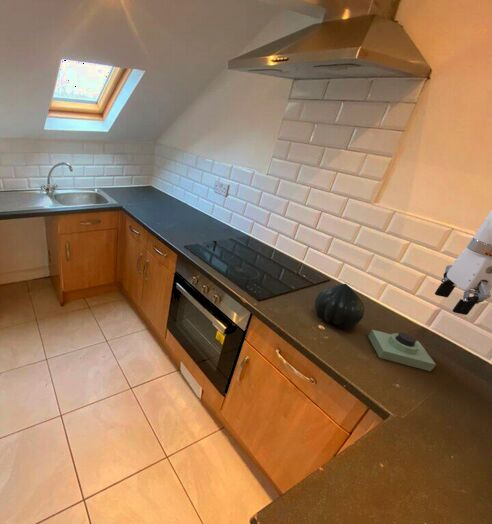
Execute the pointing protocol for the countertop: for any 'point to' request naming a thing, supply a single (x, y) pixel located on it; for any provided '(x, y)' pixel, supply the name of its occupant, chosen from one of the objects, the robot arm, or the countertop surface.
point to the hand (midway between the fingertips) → (449, 303)
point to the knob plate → (400, 351)
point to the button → (406, 339)
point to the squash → (339, 306)
